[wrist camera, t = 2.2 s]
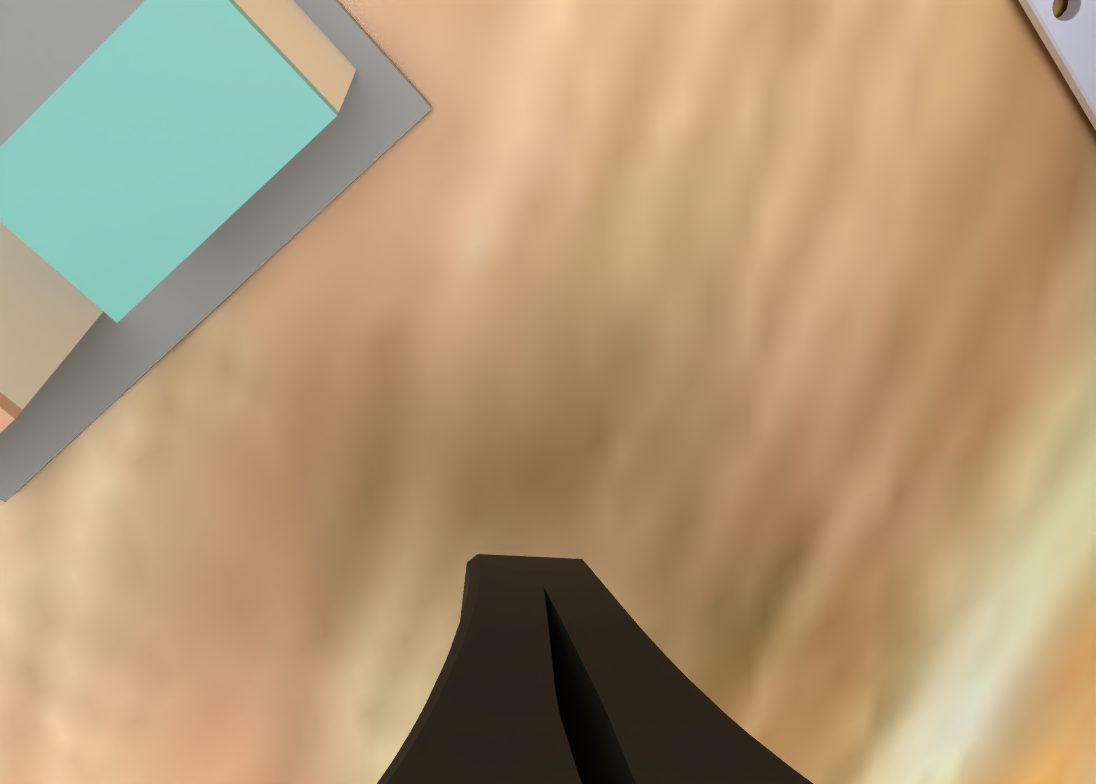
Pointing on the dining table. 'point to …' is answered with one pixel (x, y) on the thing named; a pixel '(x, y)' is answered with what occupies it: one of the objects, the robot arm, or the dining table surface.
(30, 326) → the slab
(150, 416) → the dining table surface
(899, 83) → the dining table surface
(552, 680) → the robot arm
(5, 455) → the mat
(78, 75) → the slab
